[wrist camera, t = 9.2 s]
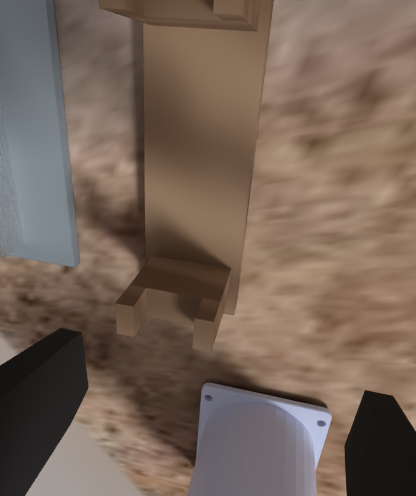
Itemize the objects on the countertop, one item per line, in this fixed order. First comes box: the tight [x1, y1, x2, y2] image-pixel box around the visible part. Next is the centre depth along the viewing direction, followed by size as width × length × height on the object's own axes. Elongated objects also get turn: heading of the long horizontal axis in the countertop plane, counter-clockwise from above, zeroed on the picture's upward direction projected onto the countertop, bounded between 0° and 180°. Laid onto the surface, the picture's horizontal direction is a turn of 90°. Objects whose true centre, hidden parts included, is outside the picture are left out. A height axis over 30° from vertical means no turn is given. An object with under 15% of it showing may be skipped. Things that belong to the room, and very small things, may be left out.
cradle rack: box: [99, 0, 274, 353], centre depth 15 cm, size 16×5×6 cm, turn 176°
